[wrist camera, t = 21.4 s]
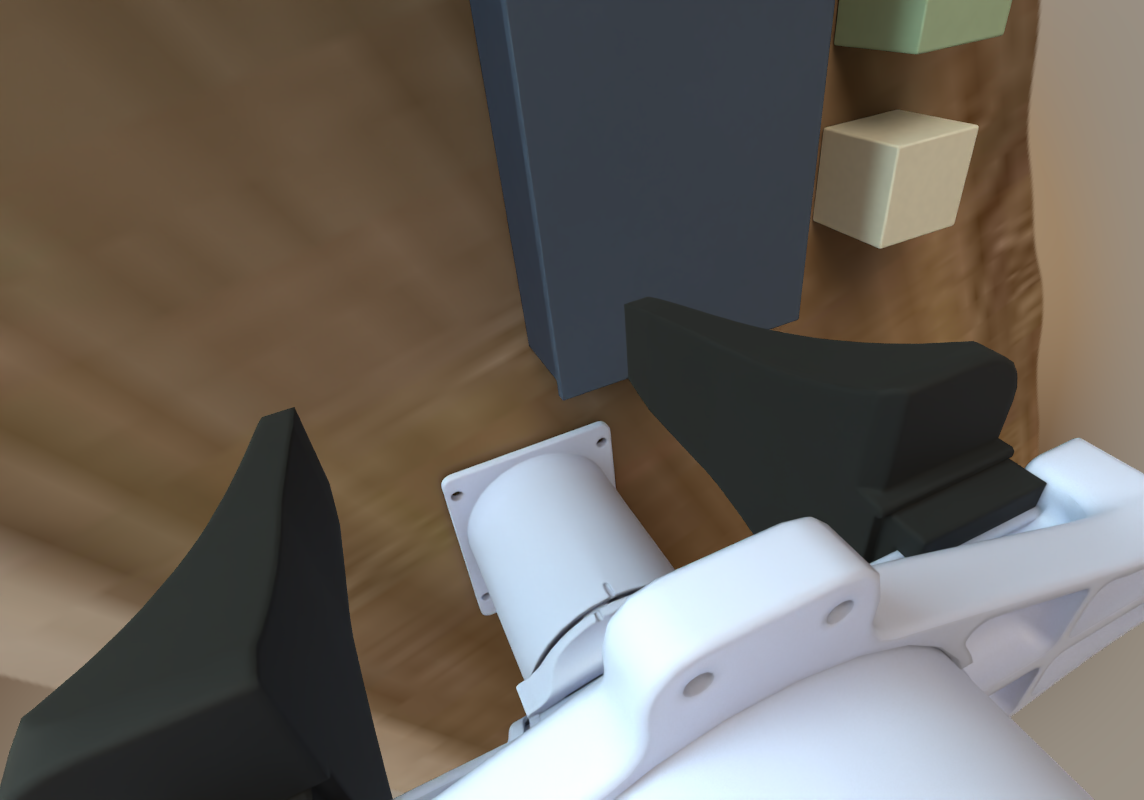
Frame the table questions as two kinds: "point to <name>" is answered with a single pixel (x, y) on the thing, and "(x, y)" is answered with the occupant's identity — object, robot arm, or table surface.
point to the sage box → (918, 23)
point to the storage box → (652, 162)
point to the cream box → (892, 176)
